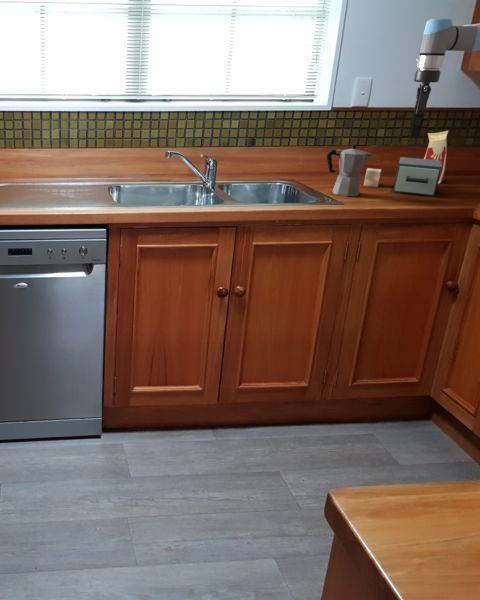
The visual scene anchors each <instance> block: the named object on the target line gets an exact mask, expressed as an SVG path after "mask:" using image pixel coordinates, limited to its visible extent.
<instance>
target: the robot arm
mask: <svg viewBox="0 0 480 600" xmlns="http://www.w3.org/2000/svg"><path fill="white" fill-rule="evenodd" d="M420 45H421V46H420V49H419V53H418V55H419V56H418V58H416V59H415V62H417V64H416V70H415V72H414V77H413V81H414V82H416V83H419V86H418V87H417V89H416V96H415V100H416V101H415V105H414V108H413V114H412V118H411V123H410V128H409V131H408V132H409V133H410V136H409V137H411V138H420V135H421V133H422V132H421V131H422V128H423V122H424V118H425V115H426V109H427V104H428V100H429V99H430V94H431V92H432V87H431V83H438V82H439V81H440V77H441V72H442V71H441V70H440V69H443V65H444V61H445V57H446V52H447V51H449V52H450V51H451V52H452V51H453V52H454V51H455V52H478V51H480V23H473V24H466V25H453V19H451V18H431V19H428V20H427V21H426V24H425V27H424V29H423V33H422V40H421V44H420Z"/></svg>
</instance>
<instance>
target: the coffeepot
mask: <svg viewBox="0 0 480 600" xmlns="http://www.w3.org/2000/svg"><path fill="white" fill-rule="evenodd" d="M357 146H358V144H357V143H352V144H351V148H349V149H335V148H334V149H331V150H329V151H328V152H327V153H326V156H325V158H326V161H327V166H328V167H327V168H328V171H329V173H331V174H332V173H333V174H335V173H336V171H337V170H336V169H333V166H334V165H333V157H332V156H338V157H339V158H338V170H339V173H338V175H337V178H336V180H335V183H334V187H333V189H332V193H333V194H334V195H336V196H341V197H357V196H359V195H360V173H361V172H362V170H363V167H364V165H365V163H366V162H367V161H369V159H370V158H371V157H373V156H374V154H373V153H371V152H368V151H364V150H360V149H357Z"/></svg>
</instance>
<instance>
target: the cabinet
mask: <svg viewBox="0 0 480 600" xmlns="http://www.w3.org/2000/svg"><path fill="white" fill-rule="evenodd" d="M400 166H407V167H418V168H429V169H438V170H439V173H438V177H437V182H436V186H435V190H434V194H433V195H430V194H420V193H411V192H402V191H395V187H396V182H397V178H398V173H399V169H400ZM441 168H442V164H441V160H429V159H424V158H416V157H403V156H400V158H399V162H398V164H397V170H396V173H395V174H396V175H395V180H394V184H393V189H392V193H394V194H403V195H411V196H421V197H432V198H434V197H436V192H437V188H438V181H439V177H440V172H441Z"/></svg>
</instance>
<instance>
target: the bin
mask: <svg viewBox="0 0 480 600" xmlns="http://www.w3.org/2000/svg"><path fill="white" fill-rule="evenodd" d="M438 173H439V170H438V169H429V168H418V167H407V166H400V169H399V173H398V178H397V182H396V187H395V191H402V192H411V193H420V194H430V195H433V194H434V190H435V186H436V182H437V177H438Z"/></svg>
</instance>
